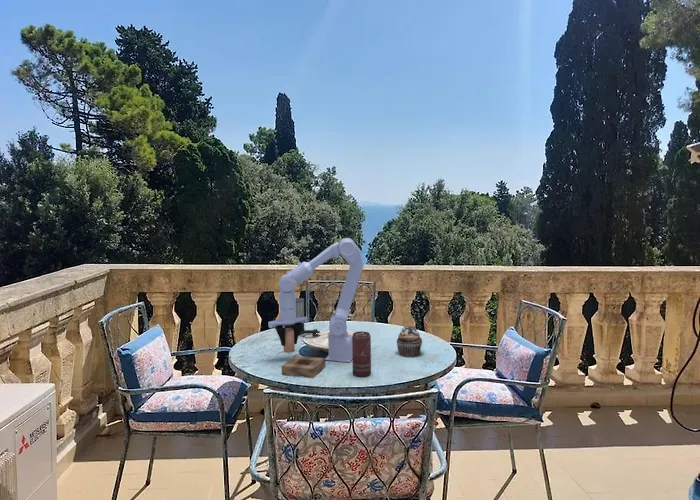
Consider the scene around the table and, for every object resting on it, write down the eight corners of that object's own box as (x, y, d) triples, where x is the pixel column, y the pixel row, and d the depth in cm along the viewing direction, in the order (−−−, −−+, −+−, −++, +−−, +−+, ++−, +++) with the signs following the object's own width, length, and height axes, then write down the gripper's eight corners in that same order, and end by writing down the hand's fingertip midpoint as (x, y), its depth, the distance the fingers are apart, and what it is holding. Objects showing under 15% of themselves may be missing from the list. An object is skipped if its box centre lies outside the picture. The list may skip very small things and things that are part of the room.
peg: (296, 349, 192) (295, 328, 191) (292, 353, 188) (291, 331, 187) (286, 348, 193) (285, 327, 192) (281, 352, 189) (281, 330, 188)
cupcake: (392, 351, 199) (392, 325, 198) (416, 349, 202) (416, 323, 200) (401, 358, 190) (401, 331, 189) (426, 356, 192) (426, 329, 191)
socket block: (325, 366, 182) (325, 358, 182) (313, 377, 171) (313, 369, 171) (295, 363, 186) (295, 355, 185) (281, 374, 175) (281, 365, 174)
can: (370, 370, 178) (369, 330, 176) (371, 377, 171) (371, 335, 170) (352, 371, 177) (351, 330, 176) (353, 377, 171) (352, 336, 170)
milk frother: (284, 330, 232) (283, 297, 230) (320, 329, 232) (319, 296, 231) (282, 339, 218) (281, 304, 216) (320, 338, 218) (319, 303, 217)
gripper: (302, 303, 196) (303, 338, 197) (265, 308, 189) (266, 344, 191) (309, 307, 190) (310, 343, 191) (271, 311, 183) (272, 349, 184)
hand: (289, 344), depth 190 cm, fingers closed on peg, 4 cm apart
